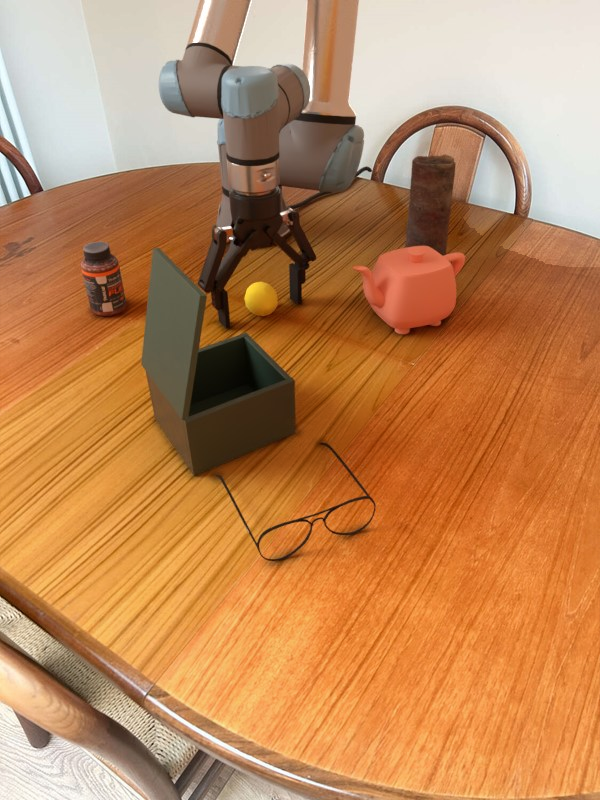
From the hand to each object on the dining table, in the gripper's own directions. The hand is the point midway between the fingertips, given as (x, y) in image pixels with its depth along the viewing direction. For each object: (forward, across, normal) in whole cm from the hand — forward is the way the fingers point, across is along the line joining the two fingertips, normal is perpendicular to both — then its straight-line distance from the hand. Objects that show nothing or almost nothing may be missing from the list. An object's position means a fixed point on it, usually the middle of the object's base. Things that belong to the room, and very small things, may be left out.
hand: (261, 312), depth 109 cm
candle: (0, +33, -2) cm, 33 cm away
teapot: (0, +19, -14) cm, 24 cm away
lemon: (0, 0, 0) cm, 0 cm away
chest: (0, -18, -22) cm, 28 cm away
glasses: (+1, -17, -38) cm, 41 cm away
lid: (-16, -23, -22) cm, 35 cm away
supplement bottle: (0, -21, +15) cm, 26 cm away
